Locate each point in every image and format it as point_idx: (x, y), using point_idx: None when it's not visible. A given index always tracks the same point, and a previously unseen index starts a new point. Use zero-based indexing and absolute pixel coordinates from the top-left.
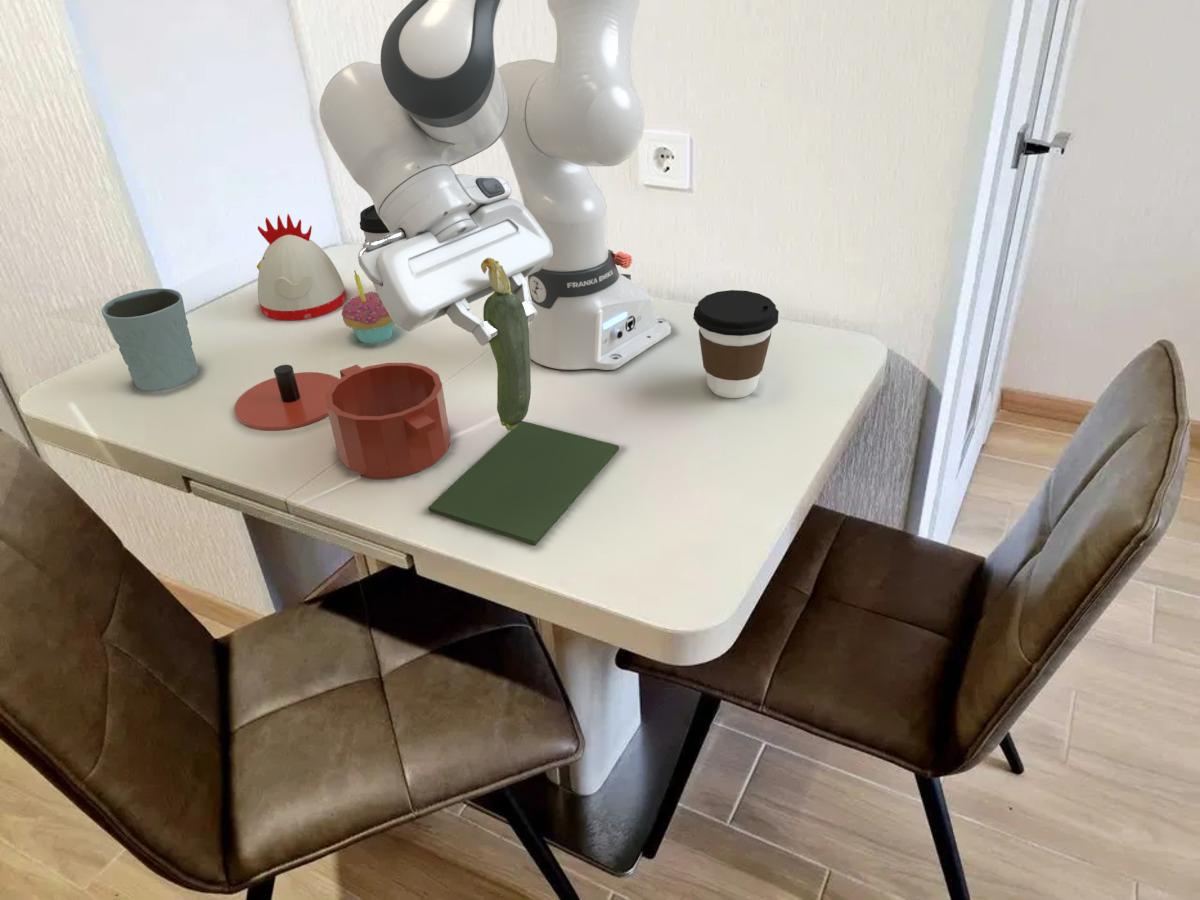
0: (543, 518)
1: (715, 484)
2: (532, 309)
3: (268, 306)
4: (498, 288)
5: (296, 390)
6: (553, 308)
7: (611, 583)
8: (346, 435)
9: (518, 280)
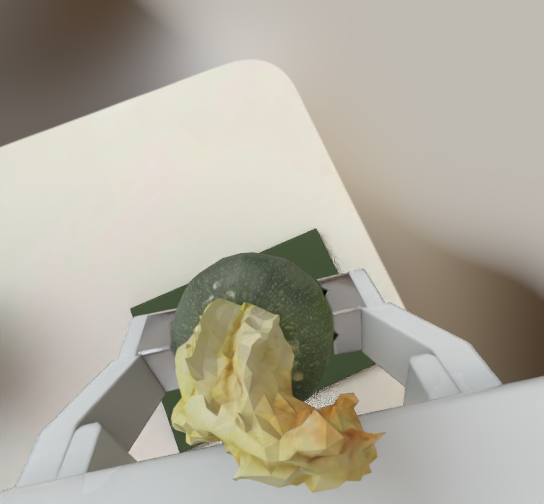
0: (286, 253)
1: (109, 186)
2: (140, 325)
3: None
4: (277, 315)
5: None
6: None
7: (291, 142)
8: None
9: (72, 450)
